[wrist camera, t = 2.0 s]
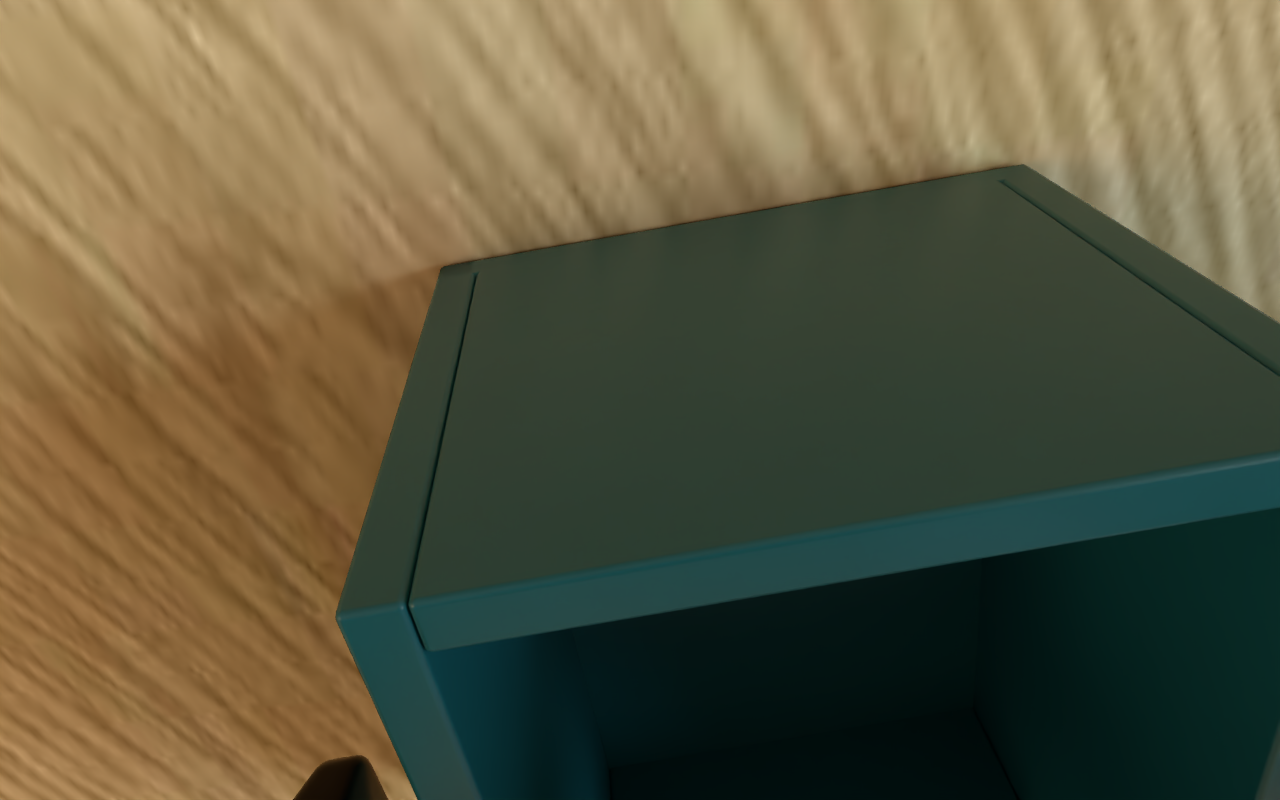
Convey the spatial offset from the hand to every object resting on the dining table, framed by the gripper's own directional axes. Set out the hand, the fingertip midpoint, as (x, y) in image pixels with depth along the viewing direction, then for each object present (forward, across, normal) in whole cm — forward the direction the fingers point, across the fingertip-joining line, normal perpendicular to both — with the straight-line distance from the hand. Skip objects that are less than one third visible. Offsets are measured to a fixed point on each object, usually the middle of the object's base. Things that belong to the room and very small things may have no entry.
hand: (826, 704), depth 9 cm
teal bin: (+3, 0, 0) cm, 3 cm away
